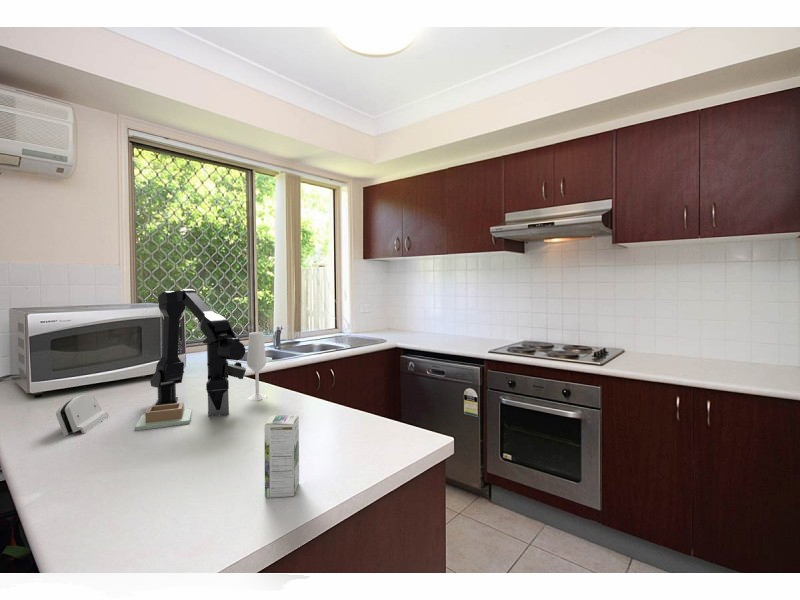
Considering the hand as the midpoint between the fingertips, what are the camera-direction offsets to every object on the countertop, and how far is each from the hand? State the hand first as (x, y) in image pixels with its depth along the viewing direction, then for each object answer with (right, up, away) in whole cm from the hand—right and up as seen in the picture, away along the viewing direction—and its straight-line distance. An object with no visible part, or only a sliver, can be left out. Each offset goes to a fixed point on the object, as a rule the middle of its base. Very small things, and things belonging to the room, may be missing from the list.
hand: (218, 406), depth 133 cm
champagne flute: (+6, -2, +19) cm, 20 cm away
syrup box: (+35, -4, -51) cm, 62 cm away
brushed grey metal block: (0, -3, 0) cm, 3 cm away
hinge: (-36, -4, -10) cm, 38 cm away
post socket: (-14, -3, -6) cm, 15 cm away
